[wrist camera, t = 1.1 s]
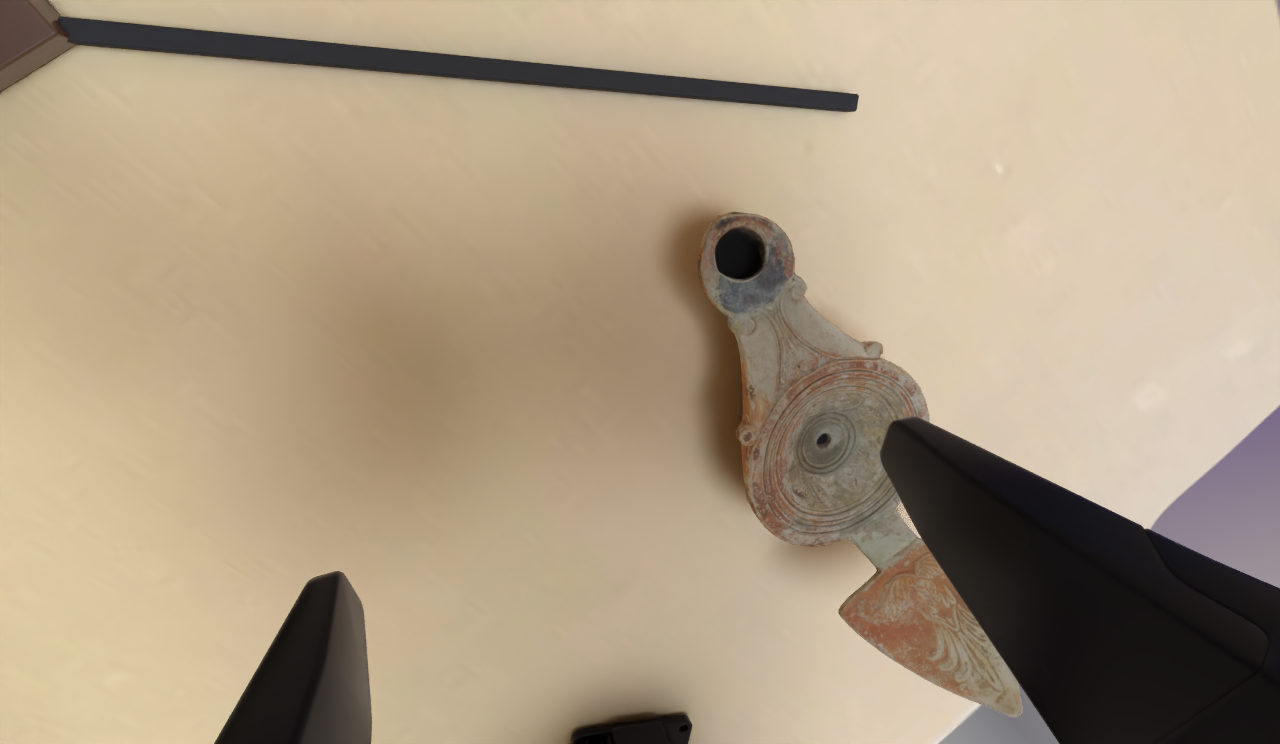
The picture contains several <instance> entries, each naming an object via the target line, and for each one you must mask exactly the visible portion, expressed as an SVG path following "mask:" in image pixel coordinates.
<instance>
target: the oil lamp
mask: <svg viewBox="0 0 1280 744" xmlns="http://www.w3.org/2000/svg"><path fill="white" fill-rule="evenodd" d="M794 267H795V258H794V254H793V250H792V245H791V242H790V240H789V239H788V237H787V235H786V233H785V232H784V231H783V230H782V229H781V228H780V227H779V226H778V225H777V224H776V223H774V222H773V221H771V220H769V219H768V218H765V217H762V216H760V215H756V214H748V213H736V212H732V213H728V214H724V215H720V216H717V217H716V218H715V219H714V220H713V221H712V222H711V224H710V225H709V227H708V228H707V230H706V232H705V234H704V236H703V239H702V242H701V245H700V250H699V258H698V268H699V278H700V281H701V285H702V288H703V290H704V292H705V294H706V295H707V297H708V299H709V300H710V301H711V303H712V304H713V305H714V306H715V307H716V308H717V309H719V310H720V311H721V312H722V313H723V314H724V315H725V316H726V317H727V318H728V328H729V329H730V330H731V331H732V332H734V334H735V337H736V340H737V343H738V348H739V355H740V363H741V374H742V392H743V416H742V421H741V423H740V424H739V426H738V427H737V429H736V437H737V439H738V440H739V441H740V442H741V445H742V463H743V478H744V484H745V489H746V494H747V498H748V501H749V503H750V505H751V507H752V509H753V511H754V513H755V515H756V516H757V518H758V519H759V520H760V522H761V523H762V524H763V525H764V527H765V528H767V529H768V530H769V531H770V532H771V533H772V534H774V535H775V536H777V537H778V538H780V539H782V540H784V541H787V542H789V543H791V544H795V545H802V546H812V547H813V546H821V545H829V544H832V543H836V542H839V541H843V540H846V539H849V540H851V541H852V542H854V544H855V545H856V546H857V547H858V548H859V549H860V550H861V551H862V553H863V554H864V555H865V556H866V557H867V558H868V559H869V560H870V561H871V562H872V564H873V565H874V566H875V567H876V569H877V571H876V573H875V574H874V575H873V576H872V577H871V578H870V579H869V580H868V581H867V582H866V583H865V584H863V585H862V586H861V587H860V588H859V589H858V590H857V591H855V592H854V593H853V594H852V595H851V596H849V597H848V598H847V599H846V601H845V602H844V603H843V604H842V605H841V607H840V608H839V612H838V613H839V615H840V616H841V618H842V619H843V620H844V621H845V622H846V623H847V624H848V625H849V626H850V627H851V628H852V629H853V630H854V631H855V632H857V633H858V634H859V635H860V636H861V637H862V638H864V639H865V640H866V641H867V642H869V643H870V644H871V645H873V646H874V647H875V648H877V649H878V650H879V651H881V652H882V653H883V654H885V655H886V656H888V657H889V658H891V659H892V660H894V661H896V662H897V663H899V664H900V665H902V666H904V667H905V668H907V669H909V670H910V671H912V672H914V673H915V674H917V675H919V676H921V677H922V678H924V679H926V680H928V681H930V682H932V683H934V684H935V685H937V686H939V687H941V688H943V689H946V690H948V691H950V692H952V693H954V694H956V695H959V696H961V697H964V698H966V699H968V700H971V701H974V702H977V703H979V704H982V705H984V706H987V707H989V708H991V709H994V710H996V711H998V712H1000V713H1003V714H1005V715H1007V716H1010V717H1013V718H1016V717H1018V716H1020V715H1021V713H1022V710H1023V707H1022V702H1021V697H1020V692H1019V684H1018V681H1017V680H1016V678H1015V677H1014V675H1013V674H1012V672H1011V671H1010V669H1009V668H1008V666H1007V665H1006V663H1005V662H1004V661H1003V659H1002V658H1001V656H1000V655H999V653H998V652H997V650H996V649H995V647H994V646H993V644H992V643H991V641H990V640H989V638H988V637H987V635H986V634H985V632H984V631H983V629H982V628H981V626H980V625H979V623H978V622H977V620H976V619H975V617H974V616H973V615H972V613H971V612H970V610H969V609H968V607H967V606H966V604H965V603H964V601H963V600H962V598H961V597H960V595H959V594H958V592H957V591H956V589H955V588H954V586H953V585H952V583H951V582H950V580H949V579H948V577H947V576H946V574H945V573H944V572H943V570H942V569H941V567H940V566H939V564H938V563H937V561H936V560H935V558H934V557H933V555H932V554H931V552H930V551H929V549H928V548H927V546H926V544H925V543H924V541H923V540H922V539H920V538H918V537H917V536H916V535H915V534H914V533H913V531H912V530H911V529H910V528H909V527H908V526H907V525H906V523H905V522H904V521H903V519H902V518H901V516H900V515H899V513H898V512H897V509H896V507H897V505H898V504H899V503H900V501H901V500H900V498H899V496H898V494H897V492H896V490H895V488H894V487H893V485H892V483H891V481H890V479H889V477H888V475H887V473H886V472H885V470H884V468H883V466H882V463H881V460H880V450H881V447H882V444H883V441H884V438H885V435H886V433H887V430H888V427H889V425H890V423H891V422H892V421H894V420H897V419H901V418H905V417H908V416H916V417H919V418H921V419H923V420H925V421H927V422H929V413H928V409H927V404H926V401H925V399H924V396H923V394H922V391H921V389H920V387H919V385H918V384H917V383H916V382H915V381H914V379H913V378H912V377H911V376H910V375H909V374H908V373H907V372H906V371H904V370H903V369H902V368H901V367H899V366H897V365H895V364H894V363H892V362H890V361H887V360H885V359H882V358H880V355H881V354H882V353H883V346H882V344H881V343H878V342H858V341H856V340H854V339H852V338H850V337H848V336H847V335H846V334H844V333H843V332H841V331H840V330H838V329H837V328H836V327H834V326H833V325H832V324H831V323H829V322H828V321H827V320H826V319H824V318H823V317H822V316H821V315H820V314H819V313H818V312H817V311H816V310H815V309H814V308H813V307H812V306H811V305H810V304H809V302H808V301H807V300H806V298H805V297H804V294H805V292H806V289H807V286H806V283H805V282H804V281H803V280H802V279H801V277H799V276H797V275H796V274H795V272H794ZM929 423H930V422H929Z"/></svg>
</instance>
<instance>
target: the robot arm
mask: <svg viewBox="0 0 1280 744" xmlns="http://www.w3.org/2000/svg"><path fill="white" fill-rule="evenodd" d="M880 460H881V463H882V466H883V468H884V470H885V472H886V473H887V475H888V477H889V479H890V481H891V483H892V485H893V487H894V488H895V490H896V492H897V494H898V496H899V498H900V500H901V501H902V503H903V505H904V507H905V509H906V511H907V513H908V515H909V516H910V518H911V520H912V522H913V524H914V526H915V528H916V529H917V531H918V533H919V535H920V536H921V538H922V540H923V541H924V543H925V544H926V546H927V548H928V549H929V551H930V552H931V554H932V555H933V557H934V558H935V560H936V561H937V563H938V564H939V566H940V567H941V569H942V570H943V572H944V573H945V574H946V576H947V577H948V579H949V580H950V582H951V583H952V585H953V586H954V588H955V589H956V591H957V592H958V594H959V595H960V597H961V598H962V600H963V601H964V603H965V604H966V606H967V607H968V609H969V610H970V612H971V613H972V615H973V616H974V617H975V619H976V620H977V622H978V623H979V625H980V626H981V628H982V629H983V631H984V632H985V634H986V635H987V637H988V638H989V640H990V641H991V643H992V644H993V646H994V647H995V649H996V650H997V652H998V653H999V655H1000V656H1001V658H1002V659H1003V661H1004V662H1005V663H1006V665H1007V666H1008V668H1009V669H1010V671H1011V672H1012V674H1013V675H1014V677H1015V678H1016V680H1017V681H1018V683H1019V684H1020V686H1021V687H1022V689H1023V690H1024V692H1025V693H1026V695H1027V696H1028V698H1029V699H1030V701H1031V702H1032V704H1033V705H1034V706H1035V708H1036V709H1037V711H1038V712H1039V714H1040V715H1041V717H1042V718H1043V720H1044V721H1045V723H1046V724H1047V726H1048V727H1049V729H1050V730H1051V732H1052V733H1053V735H1054V736H1055V738H1056V739H1057V741H1058V742H1059V744H1280V588H1278V587H1275V586H1273V585H1270V584H1268V583H1266V582H1263V581H1261V580H1259V579H1256V578H1254V577H1251V576H1249V575H1247V574H1245V573H1242V572H1240V571H1238V570H1236V569H1233V568H1231V567H1229V566H1226V565H1224V564H1222V563H1220V562H1217V561H1215V560H1213V559H1211V558H1209V557H1206V556H1204V555H1202V554H1200V553H1198V552H1195V551H1194V550H1191V549H1189V548H1187V547H1185V546H1183V545H1181V544H1179V543H1176V542H1174V541H1172V540H1170V539H1168V538H1166V537H1164V536H1162V535H1160V534H1158V533H1156V532H1154V531H1152V530H1150V529H1144V528H1143V527H1142V526H1141V525H1139V524H1137V523H1135V522H1133V521H1131V520H1129V519H1127V518H1125V517H1123V516H1121V515H1119V514H1116V513H1114V512H1112V511H1110V510H1108V509H1106V508H1104V507H1102V506H1100V505H1098V504H1096V503H1094V502H1092V501H1090V500H1088V499H1086V498H1084V497H1081V496H1079V495H1077V494H1075V493H1073V492H1071V491H1069V490H1067V489H1065V488H1063V487H1061V486H1059V485H1057V484H1055V483H1053V482H1051V481H1049V480H1047V479H1044V478H1042V477H1040V476H1038V475H1036V474H1034V473H1032V472H1030V471H1028V470H1026V469H1024V468H1022V467H1020V466H1018V465H1016V464H1014V463H1012V462H1010V461H1007V460H1005V459H1003V458H1001V457H999V456H997V455H995V454H993V453H991V452H989V451H987V450H985V449H983V448H981V447H979V446H977V445H975V444H972V443H970V442H968V441H966V440H964V439H962V438H960V437H958V436H956V435H954V434H952V433H950V432H948V431H946V430H944V429H942V428H940V427H938V426H935V425H933V424H931V423H929V422H927V421H925V420H923V419H921V418H919V417H916V416H908V417H905V418H901V419H897V420H894V421H892V422H891V423H890V425H889V427H888V430H887V433H886V435H885V438H884V441H883V444H882V447H881V450H880ZM691 729H692V724H691V721H690V719H689V717H688V716H686V715H679V716H672V717H665V718H658V719H650V720H643V721H636V722H629V723H622V724H615V725H608V726H600V727H593V728H586V729H581V730H578V731H576V732H575V733H574V734H573V735H572V738H571V744H688V742H689V737H690V733H691ZM371 733H372V716H371V699H370V686H369V673H368V660H367V647H366V634H365V620H364V611H363V607H362V603H361V600H360V599H359V597H358V595H357V594H356V592H355V590H354V589H353V587H352V586H351V584H350V582H349V581H348V579H347V578H346V576H345V575H344V574H343V573H342V572H340V571H335V572H331V573H328V574H324V575H320V576H317V577H314V578H312V579H311V580H309V581H308V582H307V583H306V585H305V587H304V588H303V590H302V592H301V594H300V595H299V597H298V599H297V601H296V602H295V604H294V606H293V607H292V609H291V611H290V613H289V614H288V616H287V618H286V620H285V621H284V623H283V625H282V627H281V628H280V630H279V632H278V634H277V635H276V637H275V639H274V640H273V642H272V644H271V646H270V647H269V649H268V651H267V653H266V654H265V656H264V658H263V660H262V661H261V663H260V665H259V667H258V668H257V670H256V672H255V674H254V675H253V677H252V679H251V680H250V682H249V684H248V686H247V687H246V689H245V691H244V693H243V694H242V696H241V698H240V700H239V701H238V703H237V705H236V707H235V708H234V710H233V712H232V713H231V715H230V717H229V719H228V720H227V722H226V724H225V726H224V727H223V729H222V731H221V733H220V734H219V736H218V738H217V740H216V741H215V743H214V744H371Z"/></svg>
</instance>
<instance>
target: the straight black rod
mask: <svg viewBox="0 0 1280 744" xmlns="http://www.w3.org/2000/svg"><path fill="white" fill-rule="evenodd" d="M58 22H59V24H60V25H61V26H62V27H63V29H64V30H65V31H66V32H67V33H68V34H69V36H70V38H69V40H68V41H67V42H68V43H72V44H76V45H86V46H98V47H109V48H121V49H132V50H143V51H155V52H166V53H178V54H189V55H201V56H212V57H224V58H235V59H247V60H258V61H270V62H281V63H292V64H304V65H315V66H327V67H338V68H350V69H361V70H373V71H384V72H396V73H407V74H418V75H430V76H441V77H453V78H464V79H476V80H487V81H499V82H510V83H522V84H533V85H544V86H556V87H567V88H579V89H590V90H602V91H613V92H625V93H636V94H648V95H659V96H670V97H682V98H693V99H705V100H716V101H728V102H739V103H751V104H762V105H774V106H785V107H797V108H808V109H819V110H831V111H842V112H853V111H856V109H857V103H858V97H859V95H857V94H849V93H839V92H829V91H819V90H808V89H798V88H788V87H778V86H767V85H757V84H747V83H737V82H726V81H716V80H706V79H696V78H685V77H675V76H665V75H655V74H644V73H634V72H624V71H613V70H603V69H593V68H583V67H572V66H562V65H552V64H542V63H531V62H521V61H511V60H501V59H490V58H480V57H470V56H460V55H449V54H439V53H429V52H419V51H408V50H398V49H388V48H378V47H367V46H357V45H347V44H337V43H326V42H316V41H306V40H295V39H285V38H275V37H265V36H254V35H244V34H234V33H224V32H213V31H203V30H193V29H183V28H172V27H162V26H152V25H142V24H131V23H121V22H111V21H101V20H90V19H80V18H70V17H58Z"/></svg>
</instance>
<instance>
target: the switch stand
mask: <svg viewBox="0 0 1280 744" xmlns="http://www.w3.org/2000/svg"><path fill="white" fill-rule="evenodd" d="M58 17H61V16H60V15H59V14H58V13H57V12H56V11H55V10H54V9H53V8H52V6H51V5H50V4H49V3H48V2H47V1H46V0H0V92H1V91H2V90H4V89H5V88H7V87H9V86H10V85H12V84H13V83H15V82H17V81H18V80H20V79H21V78H23V77H25V76H26V75H28V74H29V73H31V72H33V71H34V70H36V69H38V68H39V67H41V66H42V65H44V64H46V63H47V62H49V61H50V60H52V59H54V58H55V57H57V56H58V55H60V54H62V53H63V52H65V51H66V50H68V49H70V48H71V47H73V46H75V45H76V44H72V43H68V42H67V41H68V40H69V38H70V36H69V34H68V33H67V32H66V31H65V30H64V29H63V27H62V26H61V25H60V24H59V22H58Z"/></svg>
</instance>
